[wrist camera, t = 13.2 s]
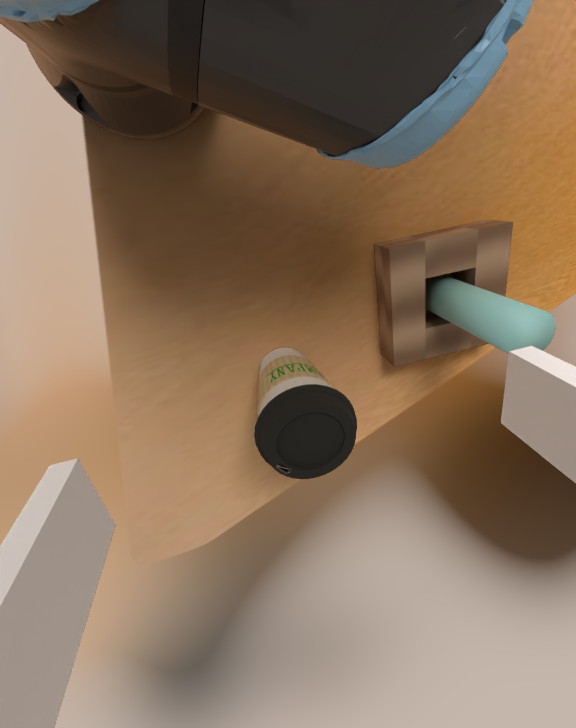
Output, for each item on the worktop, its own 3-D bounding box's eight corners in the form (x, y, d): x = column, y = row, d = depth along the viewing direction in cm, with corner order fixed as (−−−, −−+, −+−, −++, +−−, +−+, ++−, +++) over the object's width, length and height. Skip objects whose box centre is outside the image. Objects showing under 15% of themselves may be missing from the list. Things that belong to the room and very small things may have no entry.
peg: (414, 277, 44) (510, 317, 29) (448, 269, 44) (559, 305, 30) (414, 311, 46) (505, 364, 31) (447, 303, 46) (551, 352, 32)
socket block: (374, 244, 41) (389, 248, 37) (487, 219, 42) (512, 222, 39) (380, 353, 47) (394, 366, 44) (479, 329, 48) (500, 340, 45)
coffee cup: (336, 365, 47) (384, 433, 33) (284, 416, 49) (309, 499, 35) (282, 317, 43) (312, 373, 29) (228, 374, 45) (233, 451, 31)
